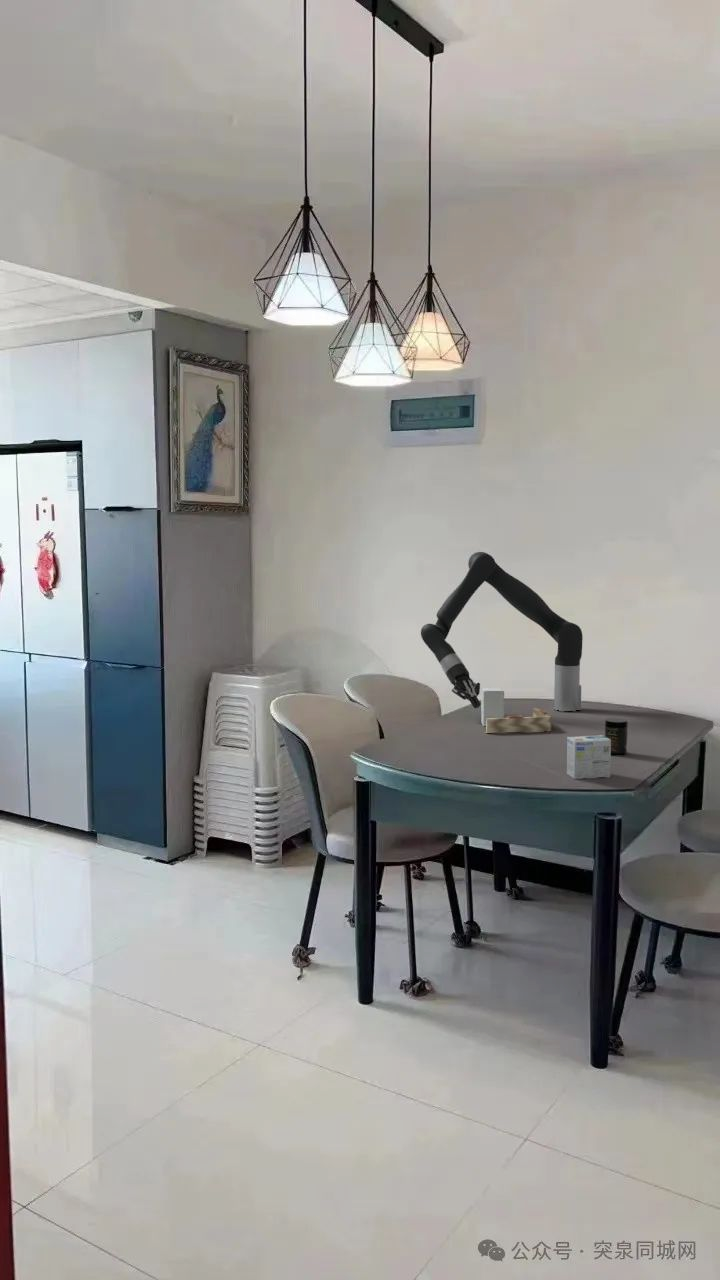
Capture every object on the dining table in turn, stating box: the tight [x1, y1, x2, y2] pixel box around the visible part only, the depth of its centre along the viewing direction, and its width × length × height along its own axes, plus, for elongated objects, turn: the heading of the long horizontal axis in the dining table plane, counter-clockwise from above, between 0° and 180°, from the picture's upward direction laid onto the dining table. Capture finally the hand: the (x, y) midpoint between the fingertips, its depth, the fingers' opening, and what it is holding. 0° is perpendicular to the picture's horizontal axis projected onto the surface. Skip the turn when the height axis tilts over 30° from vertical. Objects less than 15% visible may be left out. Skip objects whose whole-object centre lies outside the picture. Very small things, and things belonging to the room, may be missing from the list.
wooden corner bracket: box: [485, 707, 552, 734], centre depth 337 cm, size 23×17×6 cm
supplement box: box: [480, 687, 505, 727], centre depth 342 cm, size 7×7×13 cm
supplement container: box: [604, 717, 629, 756], centre depth 298 cm, size 7×7×10 cm
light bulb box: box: [566, 734, 612, 780], centre depth 272 cm, size 11×7×11 cm, turn 99°
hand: (478, 706), depth 348 cm, fingers closed
